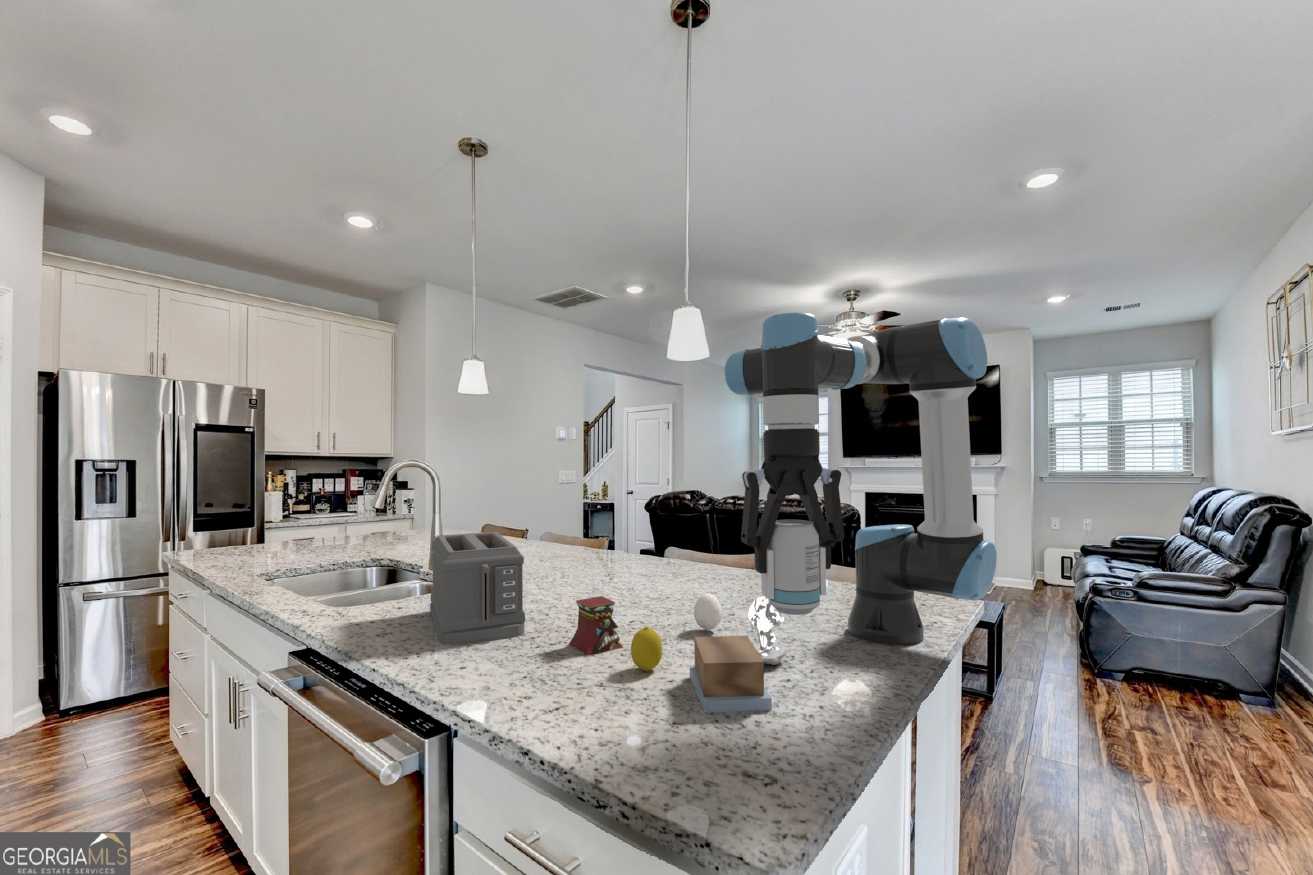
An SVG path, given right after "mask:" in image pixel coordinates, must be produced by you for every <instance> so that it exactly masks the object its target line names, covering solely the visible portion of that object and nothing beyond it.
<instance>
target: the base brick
mask: <svg viewBox="0 0 1313 875" xmlns="http://www.w3.org/2000/svg"><path fill="white" fill-rule="evenodd" d="M689 678H690V681H691V684H692V685H693V687H694V691H695V693H696V695H697V697H698V700H699V702H700V704H701V707H702V709H703V712H704V713H706V714H707V713H729V712H730V713H731V712H732V711H734V712H735V711H736V712H754V711H753V710H763V711H772V705H773V704H772V702H773V701H772V696H771V695H770V694H769V692H768V691H767V689H766V688H765V687H764V695H762V696H729V697H704V695H703V692H702V688H701V685H700V682H699V679H698V676H697V672H696V669H695V664H692V665H689ZM750 710H751V711H750Z"/></svg>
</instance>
